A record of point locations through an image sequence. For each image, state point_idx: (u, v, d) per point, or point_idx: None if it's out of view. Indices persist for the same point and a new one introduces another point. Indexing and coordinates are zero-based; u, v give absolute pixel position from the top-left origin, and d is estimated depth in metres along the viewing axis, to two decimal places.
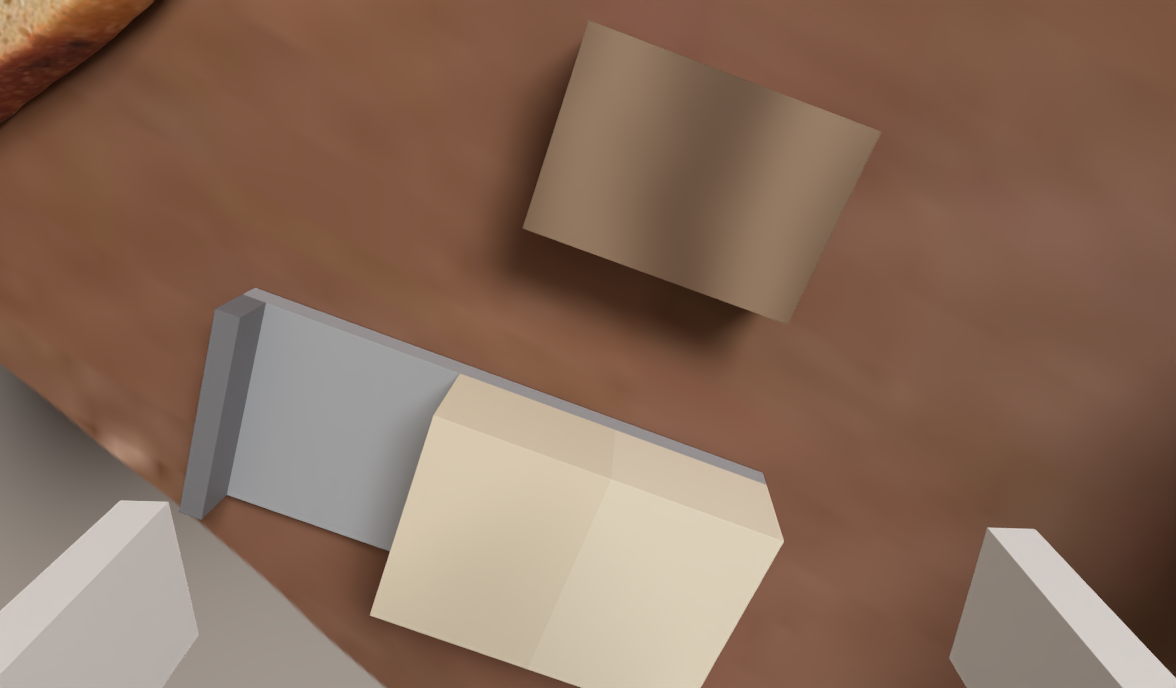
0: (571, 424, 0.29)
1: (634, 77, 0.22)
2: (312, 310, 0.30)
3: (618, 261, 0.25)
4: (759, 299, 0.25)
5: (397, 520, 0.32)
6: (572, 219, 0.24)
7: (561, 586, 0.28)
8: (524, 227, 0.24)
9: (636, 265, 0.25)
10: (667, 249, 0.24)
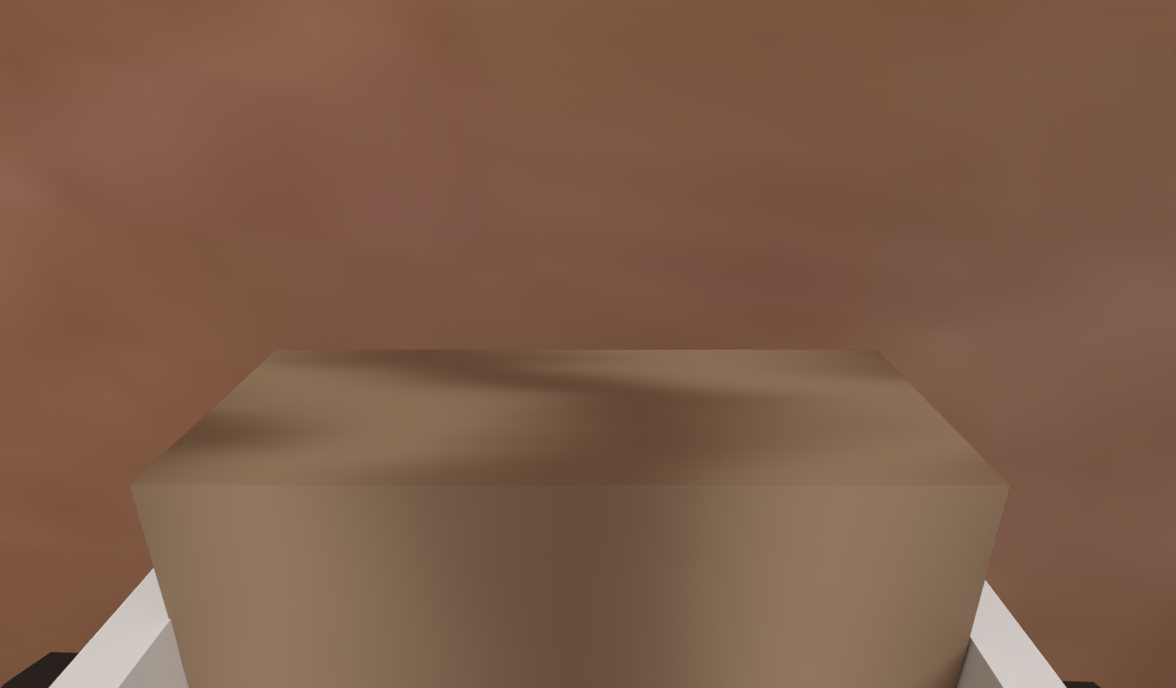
0: None
1: (314, 562, 0.08)
2: None
3: None
4: None
5: None
6: None
7: None
8: None
9: None
10: None
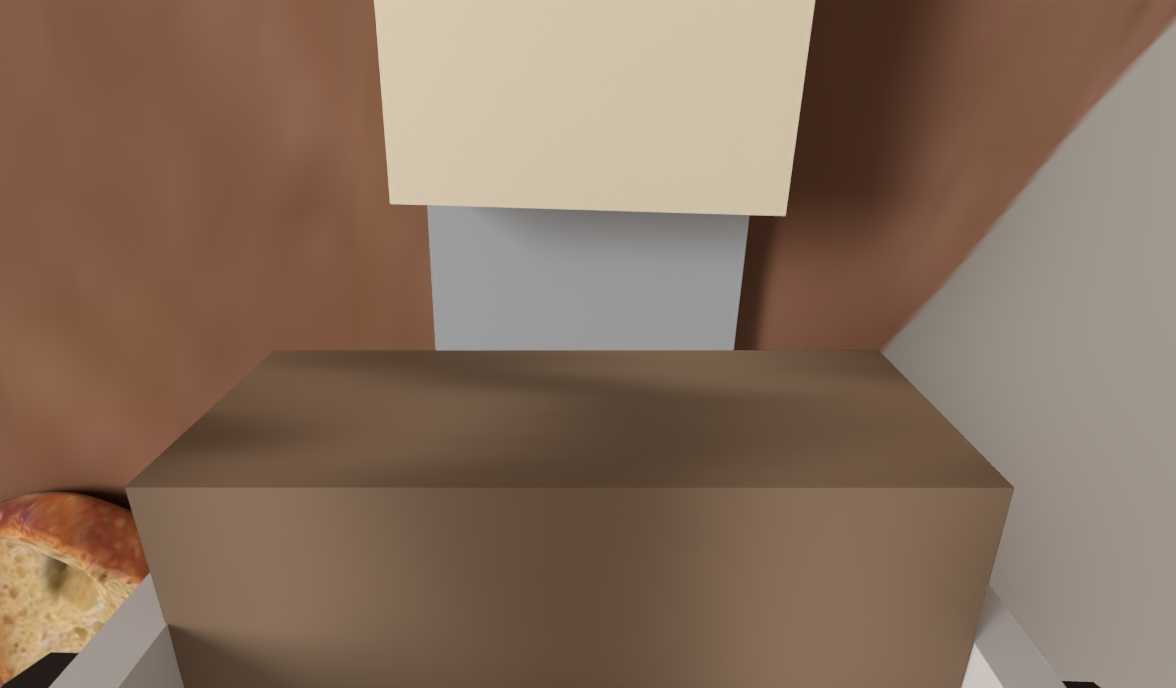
0: None
1: (311, 565, 0.08)
2: None
3: None
4: None
5: None
6: None
7: None
8: None
9: None
10: None
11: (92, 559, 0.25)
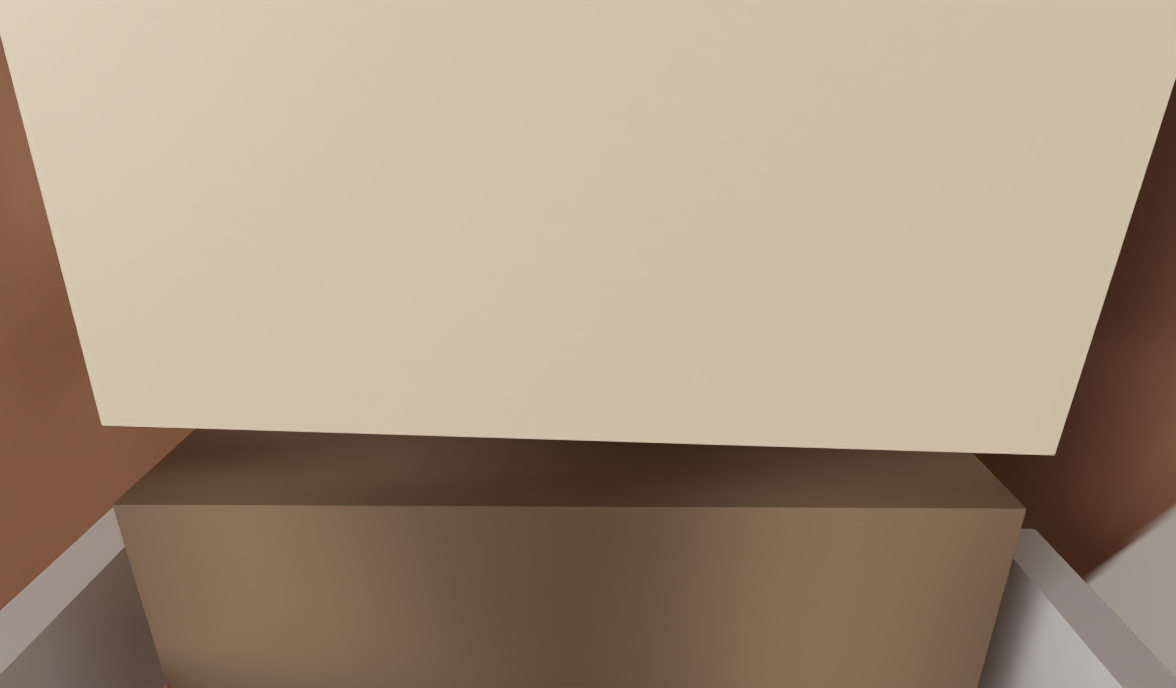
0: None
1: (302, 585, 0.08)
2: None
3: None
4: None
5: None
6: None
7: None
8: None
9: None
10: None
11: None
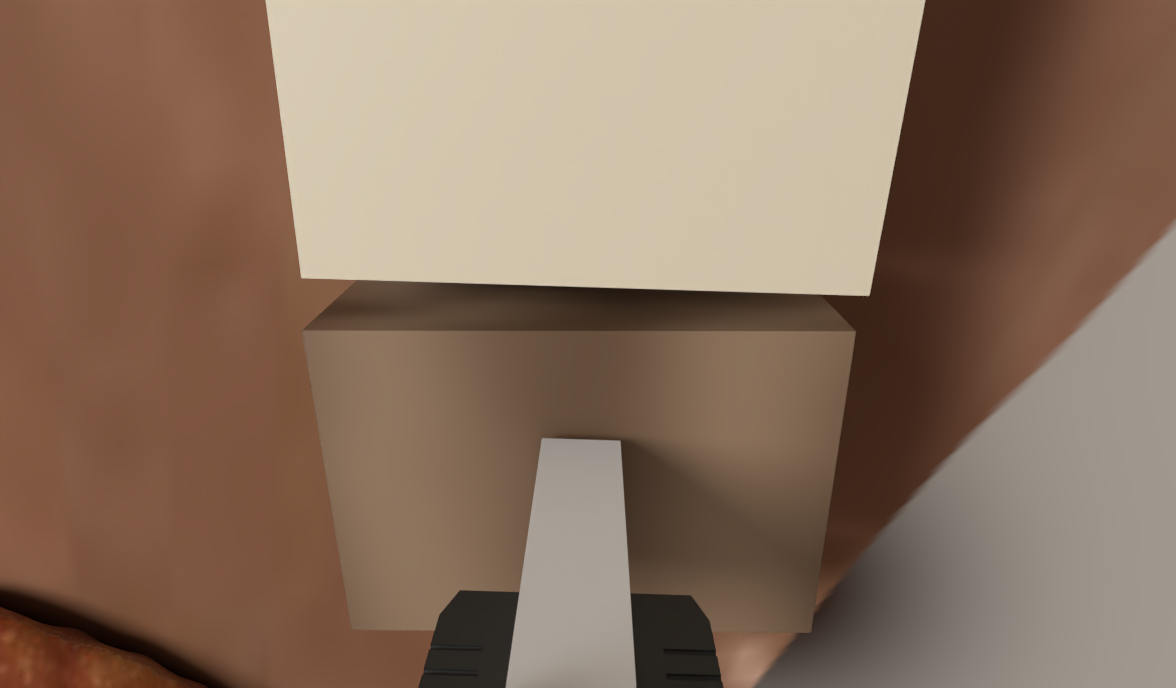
0: None
1: (414, 385, 0.13)
2: None
3: None
4: (752, 614, 0.15)
5: None
6: (418, 597, 0.15)
7: None
8: (354, 627, 0.15)
9: None
10: None
11: None
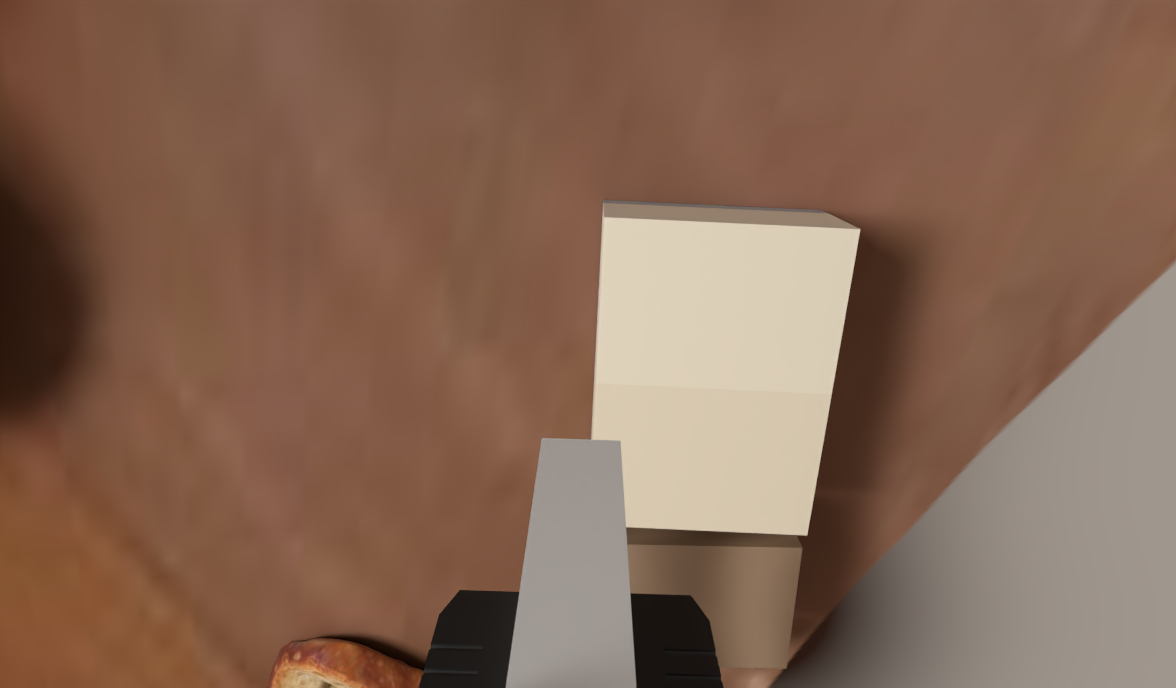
0: None
1: None
2: None
3: None
4: (761, 659, 0.34)
5: None
6: None
7: (722, 391, 0.30)
8: None
9: None
10: None
11: None
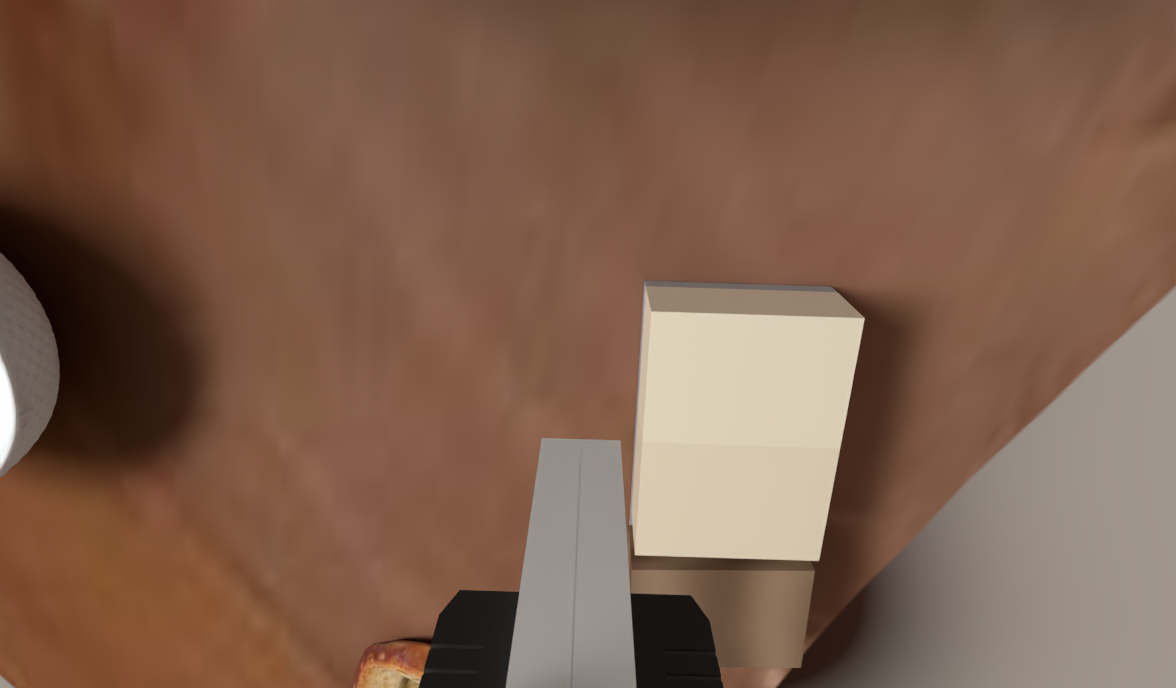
0: (637, 444, 0.39)
1: (666, 586, 0.39)
2: None
3: None
4: (779, 661, 0.41)
5: None
6: None
7: (748, 447, 0.35)
8: None
9: None
10: None
11: None
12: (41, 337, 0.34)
